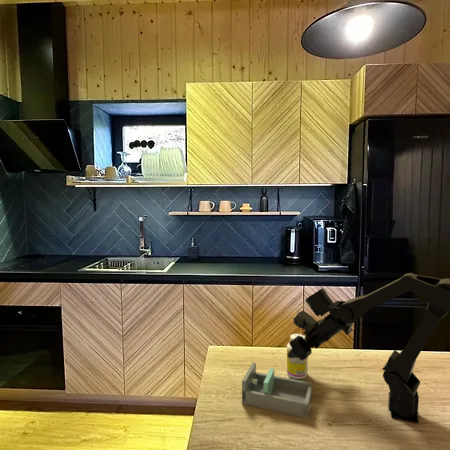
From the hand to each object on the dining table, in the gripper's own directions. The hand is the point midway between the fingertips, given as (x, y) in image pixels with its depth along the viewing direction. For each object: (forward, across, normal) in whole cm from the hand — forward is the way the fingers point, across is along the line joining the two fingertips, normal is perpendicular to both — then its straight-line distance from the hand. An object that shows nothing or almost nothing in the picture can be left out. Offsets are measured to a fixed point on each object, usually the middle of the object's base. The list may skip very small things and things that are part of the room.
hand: (293, 352), depth 114 cm
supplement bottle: (+4, 0, +6) cm, 7 cm away
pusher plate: (+4, +16, +5) cm, 18 cm away
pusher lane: (+3, +16, +7) cm, 17 cm away
